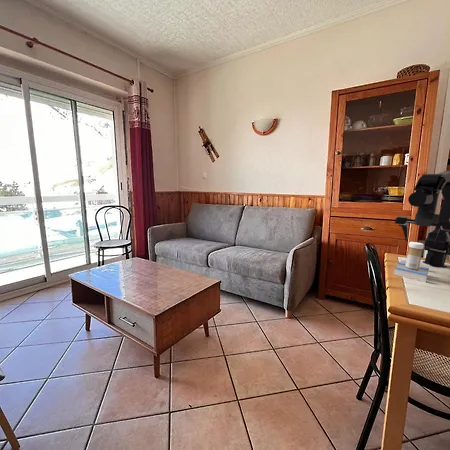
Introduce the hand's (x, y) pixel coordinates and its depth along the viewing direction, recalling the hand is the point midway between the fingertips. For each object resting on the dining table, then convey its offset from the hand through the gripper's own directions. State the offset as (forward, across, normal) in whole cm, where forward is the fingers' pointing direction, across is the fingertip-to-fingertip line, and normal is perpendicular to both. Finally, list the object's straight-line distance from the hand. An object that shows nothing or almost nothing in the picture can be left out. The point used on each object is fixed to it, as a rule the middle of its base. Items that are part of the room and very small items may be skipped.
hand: (420, 243), depth 99 cm
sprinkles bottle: (+12, -1, -7) cm, 14 cm away
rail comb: (+12, -1, -3) cm, 13 cm away
